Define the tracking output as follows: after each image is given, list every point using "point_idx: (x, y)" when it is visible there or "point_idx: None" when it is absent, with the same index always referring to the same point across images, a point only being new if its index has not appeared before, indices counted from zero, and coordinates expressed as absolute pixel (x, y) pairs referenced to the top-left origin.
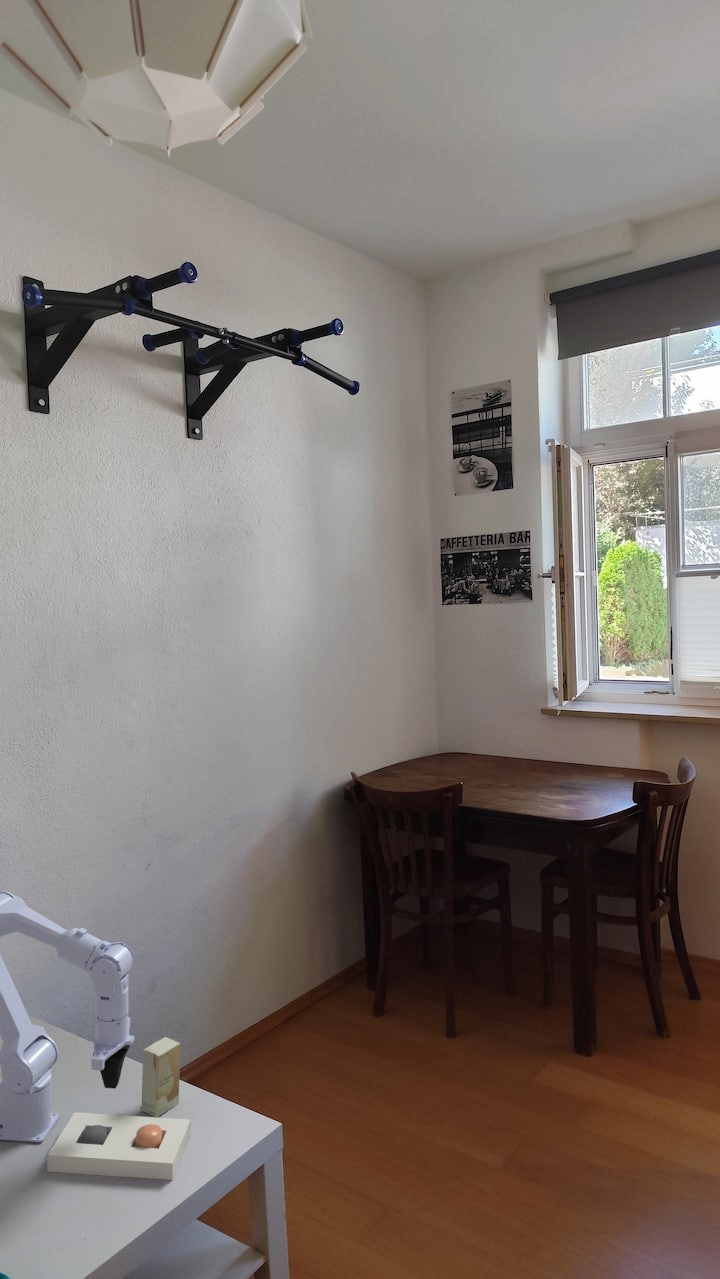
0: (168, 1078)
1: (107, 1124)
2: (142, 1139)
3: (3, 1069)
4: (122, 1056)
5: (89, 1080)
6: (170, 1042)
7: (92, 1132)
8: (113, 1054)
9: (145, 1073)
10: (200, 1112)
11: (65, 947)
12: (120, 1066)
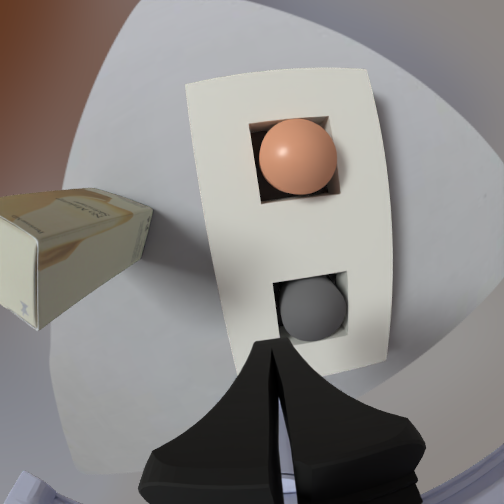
0: (73, 203)
1: (265, 301)
2: (335, 162)
3: None
4: (403, 445)
5: (110, 389)
6: None
7: (313, 318)
8: (386, 493)
9: (90, 281)
10: (111, 121)
11: None
12: (288, 394)
